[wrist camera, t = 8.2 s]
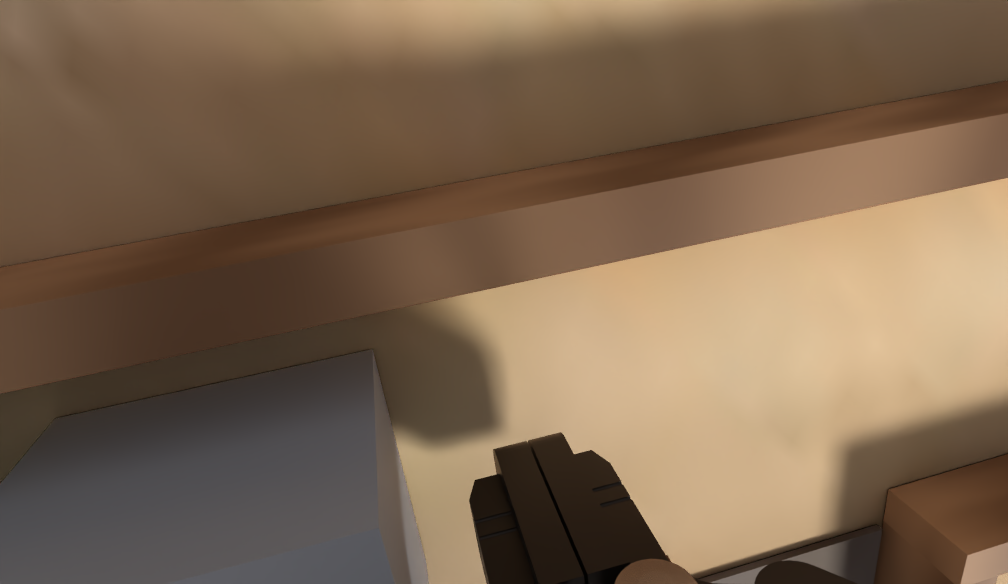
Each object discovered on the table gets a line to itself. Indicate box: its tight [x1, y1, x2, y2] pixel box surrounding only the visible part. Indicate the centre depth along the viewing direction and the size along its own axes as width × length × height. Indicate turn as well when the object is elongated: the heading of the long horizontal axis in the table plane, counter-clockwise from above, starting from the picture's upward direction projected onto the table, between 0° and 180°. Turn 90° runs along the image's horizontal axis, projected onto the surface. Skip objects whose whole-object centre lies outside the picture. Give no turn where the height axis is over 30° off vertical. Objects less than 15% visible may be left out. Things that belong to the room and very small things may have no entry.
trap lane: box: [0, 81, 1008, 584], centre depth 15 cm, size 27×20×2 cm
